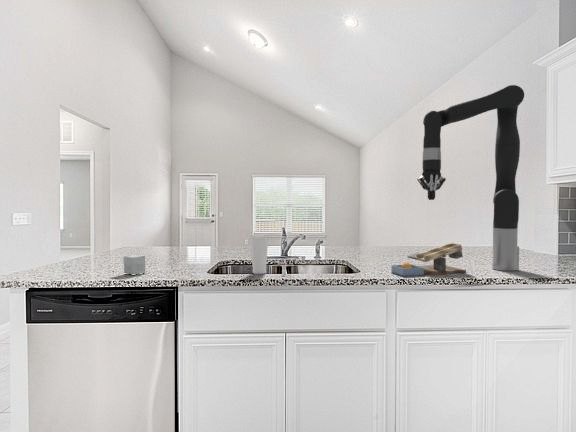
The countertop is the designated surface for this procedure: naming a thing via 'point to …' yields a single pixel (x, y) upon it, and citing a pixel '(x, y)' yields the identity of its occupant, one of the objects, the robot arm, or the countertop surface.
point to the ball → (406, 265)
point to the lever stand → (440, 268)
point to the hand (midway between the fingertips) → (431, 199)
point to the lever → (439, 253)
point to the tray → (407, 270)
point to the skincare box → (134, 264)
